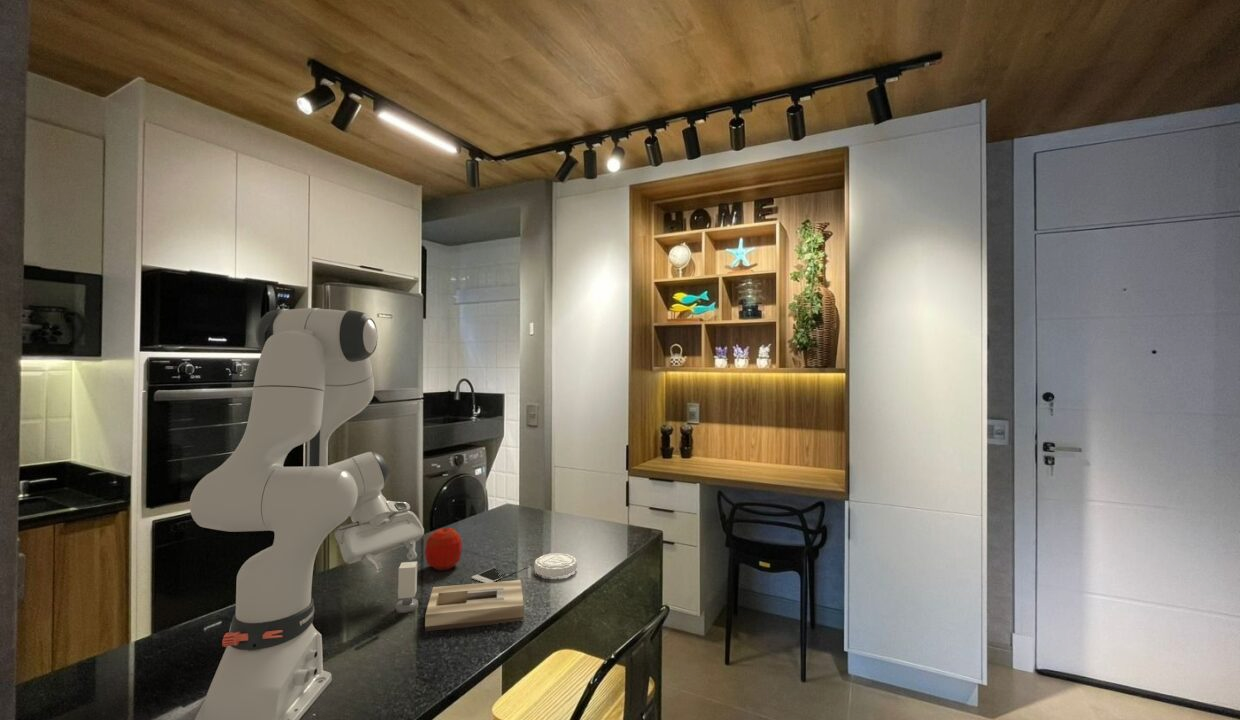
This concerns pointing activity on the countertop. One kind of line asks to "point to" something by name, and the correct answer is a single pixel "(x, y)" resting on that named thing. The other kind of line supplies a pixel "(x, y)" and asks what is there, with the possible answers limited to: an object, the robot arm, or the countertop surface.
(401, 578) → the cream peg
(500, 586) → the keyhole plate
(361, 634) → the countertop surface
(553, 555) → the container lid
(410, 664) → the countertop surface
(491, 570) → the smartphone
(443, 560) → the apple
